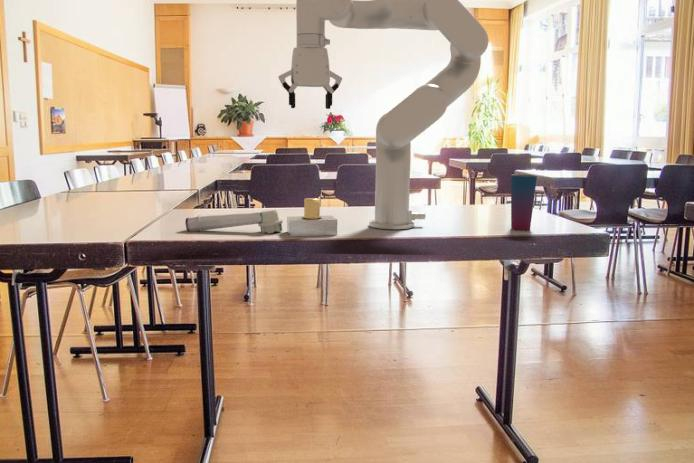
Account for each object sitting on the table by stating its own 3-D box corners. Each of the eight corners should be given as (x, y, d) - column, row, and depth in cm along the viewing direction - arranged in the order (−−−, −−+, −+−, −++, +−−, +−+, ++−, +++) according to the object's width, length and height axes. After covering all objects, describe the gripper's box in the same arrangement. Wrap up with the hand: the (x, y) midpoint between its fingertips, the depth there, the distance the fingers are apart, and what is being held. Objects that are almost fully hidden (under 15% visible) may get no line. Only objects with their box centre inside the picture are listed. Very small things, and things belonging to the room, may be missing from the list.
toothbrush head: (189, 215, 158) (281, 203, 157) (193, 239, 159) (285, 228, 158) (183, 218, 153) (278, 206, 152) (188, 243, 154) (282, 232, 153)
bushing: (317, 231, 157) (318, 198, 155) (320, 234, 153) (321, 199, 151) (302, 232, 156) (303, 198, 154) (305, 234, 152) (305, 200, 150)
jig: (331, 230, 159) (331, 215, 158) (337, 234, 152) (337, 219, 152) (287, 231, 156) (286, 216, 155) (291, 236, 149) (290, 220, 149)
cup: (523, 226, 168) (527, 173, 165) (538, 230, 162) (542, 176, 159) (503, 227, 166) (506, 174, 163) (517, 231, 159) (520, 176, 157)
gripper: (338, 46, 163) (338, 109, 166) (276, 43, 159) (277, 108, 162) (345, 42, 156) (344, 108, 159) (280, 39, 152) (280, 107, 155)
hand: (310, 108), depth 161 cm, fingers open, 9 cm apart
